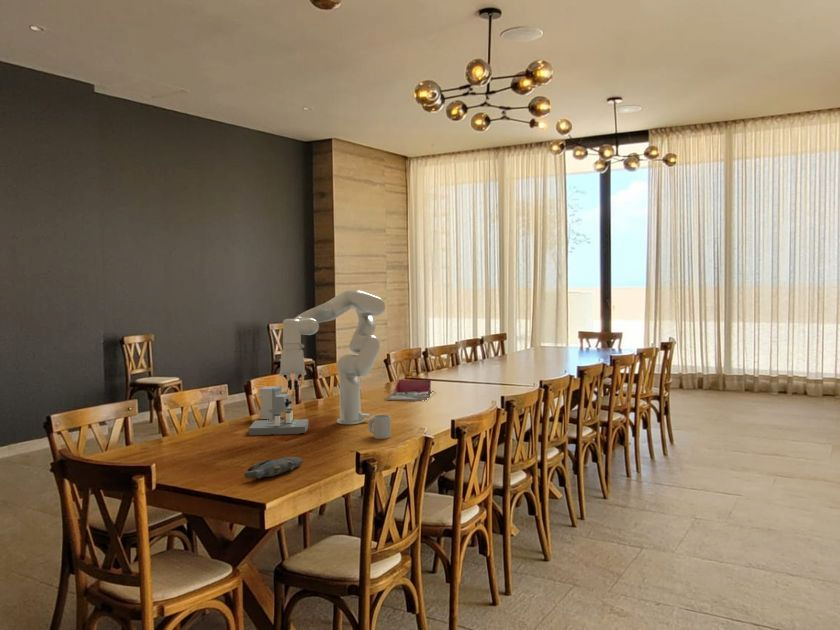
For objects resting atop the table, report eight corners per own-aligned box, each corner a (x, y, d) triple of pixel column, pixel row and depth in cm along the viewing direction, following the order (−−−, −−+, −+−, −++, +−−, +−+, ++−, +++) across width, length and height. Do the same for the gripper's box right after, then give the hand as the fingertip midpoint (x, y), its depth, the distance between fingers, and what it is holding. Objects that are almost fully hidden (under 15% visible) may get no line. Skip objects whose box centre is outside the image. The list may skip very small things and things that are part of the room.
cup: (385, 439, 289) (385, 418, 289) (364, 437, 294) (364, 416, 293) (393, 436, 296) (393, 415, 295) (372, 434, 300) (372, 413, 300)
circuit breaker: (287, 420, 333) (287, 389, 332) (259, 419, 336) (259, 388, 335) (293, 417, 340) (292, 386, 340) (266, 416, 343) (265, 386, 343)
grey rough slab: (308, 452, 249) (275, 453, 256) (260, 467, 227) (226, 467, 234) (309, 466, 248) (277, 466, 256) (261, 483, 227) (227, 482, 234)
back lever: (292, 419, 318) (292, 407, 318) (292, 420, 316) (291, 408, 315) (288, 419, 318) (287, 407, 318) (287, 420, 315) (287, 408, 315)
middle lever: (291, 422, 312) (291, 410, 312) (290, 423, 310) (290, 411, 309) (286, 422, 312) (286, 410, 312) (285, 423, 309) (285, 411, 309)
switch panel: (308, 425, 320) (308, 418, 320) (305, 433, 303) (304, 426, 303) (255, 427, 318) (255, 420, 318) (248, 435, 301) (248, 428, 301)
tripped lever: (280, 424, 306) (280, 412, 306) (279, 426, 303) (279, 414, 303) (275, 425, 306) (275, 413, 305) (274, 426, 303) (274, 414, 303)
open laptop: (437, 392, 414) (436, 379, 414) (425, 403, 380) (425, 388, 379) (397, 392, 419) (396, 378, 418) (382, 402, 384) (382, 387, 384)
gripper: (311, 346, 308) (311, 387, 309) (275, 346, 307) (276, 388, 307) (309, 347, 300) (310, 390, 301) (272, 348, 299) (273, 391, 300)
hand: (293, 389), depth 304 cm, fingers closed
